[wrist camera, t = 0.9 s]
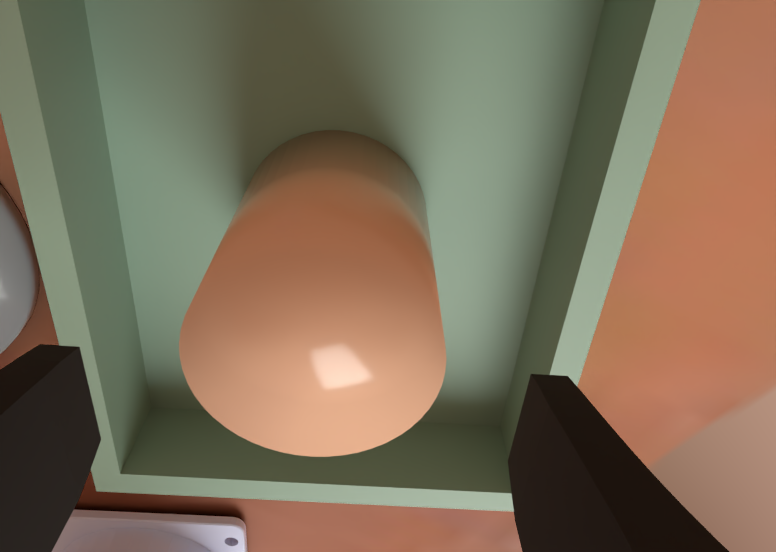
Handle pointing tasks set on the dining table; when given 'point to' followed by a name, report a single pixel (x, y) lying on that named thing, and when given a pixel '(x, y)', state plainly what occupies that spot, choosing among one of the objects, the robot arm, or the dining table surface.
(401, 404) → the salmon pink cylinder
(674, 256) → the dining table surface
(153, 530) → the robot arm
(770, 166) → the dining table surface
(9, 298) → the saucer
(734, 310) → the dining table surface
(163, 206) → the pale green open box
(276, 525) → the dining table surface
